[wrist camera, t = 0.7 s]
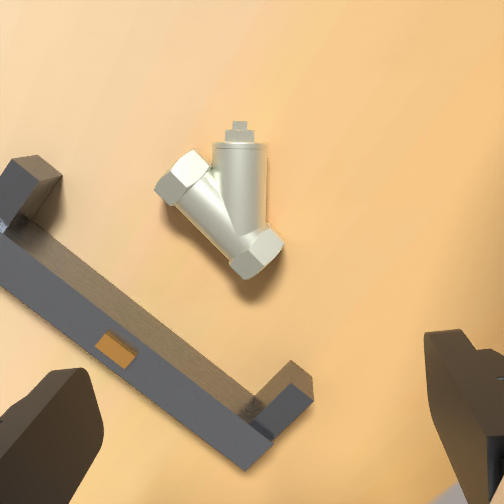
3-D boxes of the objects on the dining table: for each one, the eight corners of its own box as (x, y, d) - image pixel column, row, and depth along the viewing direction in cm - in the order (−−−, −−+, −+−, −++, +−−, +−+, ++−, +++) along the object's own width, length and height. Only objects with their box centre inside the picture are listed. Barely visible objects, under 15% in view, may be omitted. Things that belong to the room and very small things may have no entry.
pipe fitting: (235, 109, 30) (162, 184, 31) (231, 104, 26) (148, 189, 27) (321, 200, 31) (247, 269, 32) (329, 208, 27) (245, 286, 29)
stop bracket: (37, 154, 31) (3, 160, 27) (311, 376, 34) (314, 409, 30) (-16, 233, 33) (-56, 248, 29) (249, 438, 36) (244, 475, 32)
